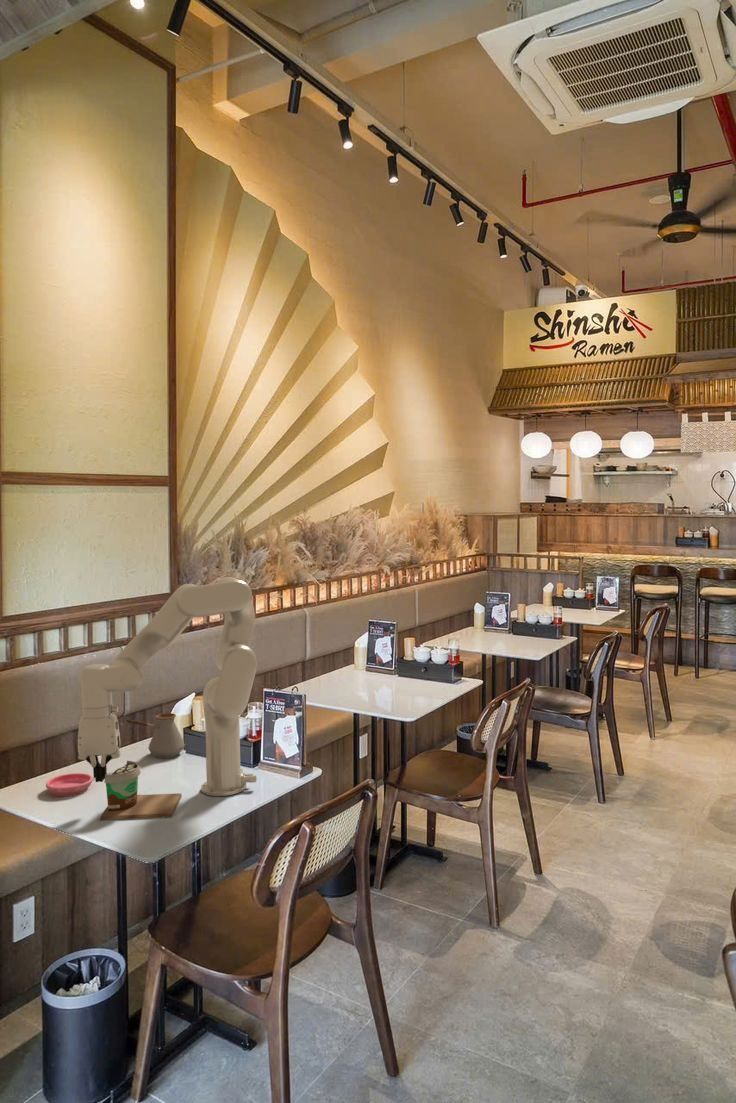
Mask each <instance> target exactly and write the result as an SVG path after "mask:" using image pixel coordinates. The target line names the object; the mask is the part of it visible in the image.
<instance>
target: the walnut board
mask: <svg viewBox="0 0 736 1103" xmlns="http://www.w3.org/2000/svg"><path fill="white" fill-rule="evenodd" d="M181 799H182V793H180V792H179V793H158V794H157V793H156V794H155V793H153V794H137V803H136V805H135V806H133V807H131V808H129V809H125V810H121V811H108V805H107V807H106V808H105V809H104V811H103V812H102V813H101V815H100V821H107V820H108V821H109V820H110V821H112V820H113V819H114V820H134V818H135V819H136V818H138V819H154V818H156V819H159V818H160V819H162V818H173V815H174V814H175V812H176V809H177V807H178V805H179V803H180V801H181Z"/></svg>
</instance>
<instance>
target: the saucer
mask: <svg viewBox="0 0 736 1103" xmlns="http://www.w3.org/2000/svg"><path fill="white" fill-rule="evenodd" d="M93 781H94V776H92V775H91V774H89V773H81V772H78V773H77V772H74V773H72V772H71V773H65V774H64V773H63V774H60V775H57V776H54V777H51V778H49V779H48V780H47V781H46V782H45V787H46V789H47V790H48V791H49V792H51V794H52V795H53V796H57V797H69V796H70V795H71V796H75V794H76V795H78V794H82V793H84V792H85V791H87V790H88V788H89V787H90V786H91V785H92V783H93ZM81 792H82V793H81ZM71 796H70V797H71Z"/></svg>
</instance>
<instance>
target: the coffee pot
mask: <svg viewBox="0 0 736 1103" xmlns="http://www.w3.org/2000/svg"><path fill="white" fill-rule="evenodd" d="M176 717H177V714H175V713H172V712H171V713H170V712H167V713H166V712H164V713H159V714H157V715H155V719H156V720H157V724H153V723H148V722H145V721H140V720H135V719H131V718H123V719H122V720H121V722H120V725H121V726H125V725H126V722H128V724H133V725H139V726H145V727H150V728H154V732H153V735H152V737H151V739H150V742H149V744H148V747H147V748H148V750H149V752H150V754H152V755H154V757H155V756H156V757H155V758H157V757H160V758H159V759H167V758H166V757H171V758H174V757H173V756H175V757H177V756H179V755H180V753H181V752H182V751H183V750H184V749H185V746H186V744H184V743H185V741H184V739H183V737H182V735H181V733H180V731H179V729H178V726H177V725H176V721H175V718H176ZM123 721H124V724H123ZM176 755H177V756H176ZM163 757H164V758H163Z"/></svg>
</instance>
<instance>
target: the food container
mask: <svg viewBox="0 0 736 1103" xmlns="http://www.w3.org/2000/svg"><path fill="white" fill-rule="evenodd" d="M140 775H141V767H140V766H139V764H138V762H136V761H132V760H126V764H125V765H124V766H122V767H119V768H116V770H115V771H113V772H112V773H111V774H107V775H105V779H104V784H105V787H106V799H107V806H108V811H121V810H125V809H129V808H131V807H133V806H135V805H136V803H137V795H138V788H139V787H138V785H139V784H138V783H139V776H140Z"/></svg>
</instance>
